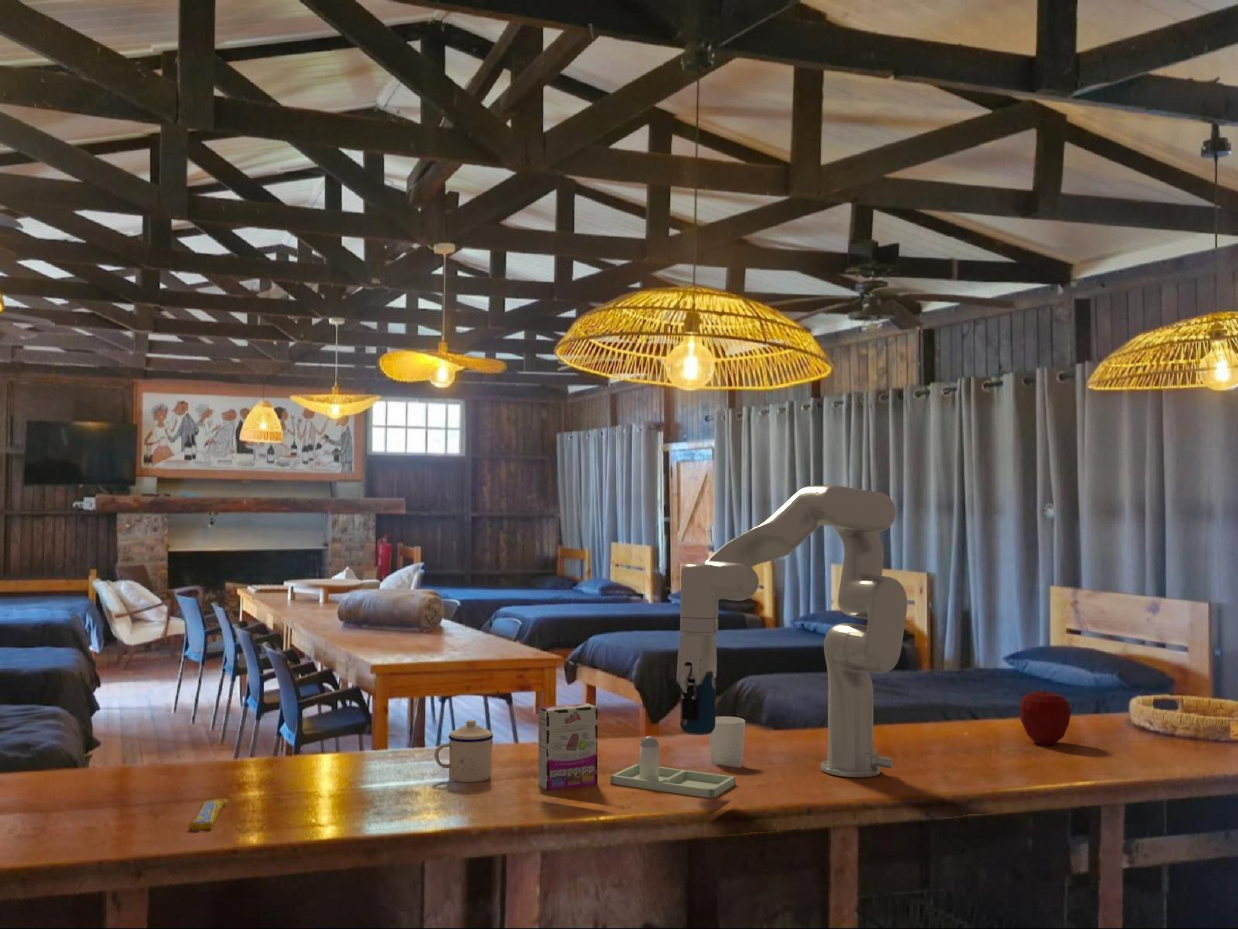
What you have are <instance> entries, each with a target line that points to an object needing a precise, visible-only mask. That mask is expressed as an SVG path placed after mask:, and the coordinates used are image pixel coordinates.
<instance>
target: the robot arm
mask: <svg viewBox="0 0 1238 929" xmlns="http://www.w3.org/2000/svg"><path fill="white" fill-rule="evenodd" d="M896 511H897V510H896V506H895V503H894V501H893V500H892V499H891V497H890V496H888V495H887V494H885V493H883V492H881V491H880V492H879V491H872V490H867V489H860V488H854V487H848V486H844V485H836V484H835V485H833V484H831V485H830V484H829V485H828V484H827V485H826V484H825V485H809V486H804V487H802V488H800V489H799V490H797V492H795V493H794V494H793V495H792V496H791V497H790V498H788V499H787V500H786V501H785V502H784V503H783V504H782V505H781V506H780V507H779V508H778V509H777V510H775V512H773V514H771V515H770V516H769V517H768V518H767V519H766V520H765V521H764V522H762V523H760V524H759V525H757V526H755V527H753V528H751V529H749V530H748V531H746V532H744V533H742V534H740V535H739V536H737V537H734V538H733V539H731V540H730V541H728V542H727V543H725V544H724V545H723V546H721V547H720V548H719V549H718V550H716V552H714V554H712V555H710V557H709V558H707V560H706V561H704V563H687V564H685V565H683V566H682V567H681V571H680V611H679V612H680V613H679V614H680V616H679V618H680V620H679V629H680V630H679V633H680V637H679V643H678V650H677V651H678V652H677V662H676V663H677V666H676V682H677V683H678V684H679V686H680V693H681V692H682V696H681V695H680V698H681V697H682V718H683V719H687V720H698V699H696V698H697V693H698V686H699V685H701V684H702V682H703V680H704V678H705V676H706V673H711V672H713V676H714V678H715V679H716V678H717V668H718V660H717V659H718V656H717V637H716V635H718V634H719V600H729V601H738V602H741V601H744V600H748V599H750V598H751V597H752V596H754V595H755V594H756V592H757V590H758V589H759V582H760V581H759V577H758V576H759V575H758V574H757V572H756V571H755V569H754V568H753V567H755V566H757V565H760V564H763V563H764V564H765V563H767V562H772V561H775V560H778V559H782V558H784V557H787V556H788V555H790V554H792V553H793V552H794V551H795V550H796V549H797V548H798V547H799V546H800V545H801V544H802V543H804V541H805V540H806V539H807V538H809V536H810V535H811V534H812V533H814V532H815V531H817V529H818V528H820V527H823V526H826V527H827V526H829V527H830V526H831V527H832V526H833V529H835V531H836V532H837V534H838V535H839V538H840V539H841V542H842V545H843V562H842V568H841V576H840V583H839V588H838V594H837V595H838V596H837V602H838V607H839V609H840V611H841V612H843V614H845V615H846V616H849V617H852V618H858V619H863V620H864V619H865V620H867V625H866V624H860V623H859V624H858V623H852V622H851V623H850V622H842V623H838V624H835V625H833V626H832V627H831V628H829V630H827V632H826V635H825V637H824V641H823V652H824V659H825V663H826V668H827V682H828V684H827V685H828V689H827V690H828V691H827V692H828V698H827V699H828V700H827V704H828V705H827V717H828V718H827V726H828V727H827V735H828V736H827V737H828V738H827V739H828V740H827V760H823V761H821V763H820V770H821V771H822V772H824V773H826V774H829V775H833V776H837V777H844V778H868V777H869V778H871V777H875V776H879V775H880V773H881V768H883V769H893V767H894V760H893V759H891V758H890V757H888V756H887V757H886V756H880V755H878V751H877V749H874V684H873V681H872V677H871V676H870V673H874V674H885V673H889V672H890V671H892V670H893V669H894V668H895V666H896V665H897V664H898V662H899V659H900V657H901V651H902V646H903V639H904V632H905V626H906V619H907V612H908V597H907V592H906V589H905V587H904V586H903V585H902V583H901V582H900V581H898V580H897V579H896V578H895V577H894V578H893V577H891V576H886V575H885V576H884V575H883V567H884V557H885V555H884V554H885V552H884V551H885V550H884V546H883V543H882V540H881V538H880V536H879V534H878V533H881V532H884V531H887V530H888V529H889V528H890V527H891V526H892V525H893V523H894V521H895V519H896V515H897V512H896ZM689 679H693V680H695V683H690V682H688V681H689ZM691 687H694V688H693V691H692V689H691Z"/></svg>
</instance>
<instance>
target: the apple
mask: <svg viewBox="0 0 1238 929" xmlns="http://www.w3.org/2000/svg"><path fill="white" fill-rule="evenodd" d="M1071 713H1072V709H1071V705H1070V703H1069V701H1068V700H1067V699H1066V698H1065V697H1064V696H1063V695H1061V694H1057V693H1054V692H1049V691H1046V688H1044V689H1043V691H1031V692H1028V693H1027V694H1025V695H1024V696H1023V697H1022V700H1021V702H1020V704H1019V714H1020V722H1021V723H1022V726H1023V728H1024V731H1025V733H1026V735H1027V736H1028V737H1029V738H1030V739H1031V740H1032V741H1033V742H1034V743H1035V744H1036V745H1041V746H1049V745H1055V744H1056V743H1057V742H1059V741H1060V740H1061V739H1063V738H1064V737H1065V734H1066V732H1067V729H1068V728H1069V724H1070V720H1071Z"/></svg>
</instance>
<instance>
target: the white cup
mask: <svg viewBox="0 0 1238 929" xmlns="http://www.w3.org/2000/svg"><path fill="white" fill-rule="evenodd" d="M745 728H746V720H745V719H743V718H741V717H735V716H725V715H724V716H723V715H722V716H715V728H714V730H713V731H712V733H711V734H708V735H709V750H710V764H711V765H717V766H725V767H732V768H742V767H743V756H744V744H745V730H746V729H745Z"/></svg>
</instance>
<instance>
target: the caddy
mask: <svg viewBox="0 0 1238 929" xmlns="http://www.w3.org/2000/svg"><path fill="white" fill-rule="evenodd" d="M609 781H610V782H609V783H610V784H611V785H616V786H623V787H624V786H625V787H631V788H636V789H637V788H638V789H644V790H652V791H658V792H659V791H660V792H665V793H670V794H671V793H672V794H680V795H686V796H692V797H693V796H694V797H699V798H707V799H714V798H716V797H717V796H719V795H721V794H722V793H724V792H726V791H728V790H729V789H731V788H732V787H734V786H735V785H736V776H731V775H723V774H716V773H709V772H702V771H693V770H688V769H687V770H686V769H679V768H671V767H665V766H659V781H652V780H645V779H639V763H635V764H633V765H631V766H629V767H627V768H625V769H622V770H620V771H618V772H615V773H613V774H611V775H610V778H609Z"/></svg>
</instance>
